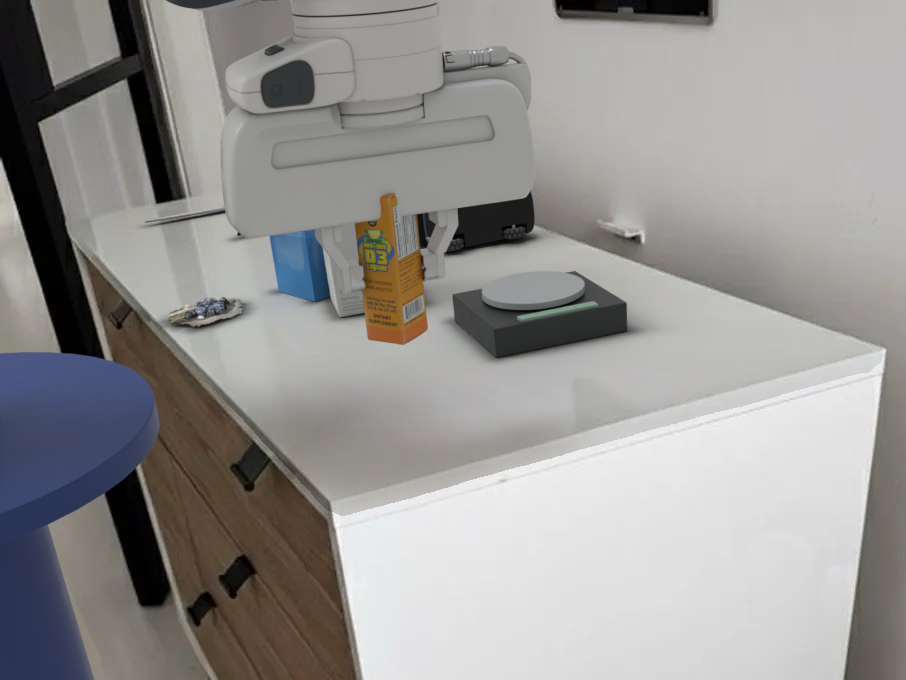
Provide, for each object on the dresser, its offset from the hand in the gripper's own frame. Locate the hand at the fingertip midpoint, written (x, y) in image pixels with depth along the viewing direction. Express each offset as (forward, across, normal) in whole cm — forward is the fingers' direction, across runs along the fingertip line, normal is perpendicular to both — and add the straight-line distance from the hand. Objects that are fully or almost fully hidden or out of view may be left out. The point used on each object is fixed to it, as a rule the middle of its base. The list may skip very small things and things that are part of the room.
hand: (391, 284), depth 81 cm
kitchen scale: (+11, -18, -19) cm, 28 cm away
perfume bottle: (+12, -3, -42) cm, 44 cm away
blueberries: (+12, +8, -40) cm, 43 cm away
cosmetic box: (+12, -7, -34) cm, 37 cm away
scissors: (+12, 0, -82) cm, 83 cm away
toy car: (+8, -22, -45) cm, 51 cm away
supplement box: (+4, 0, 0) cm, 4 cm away
